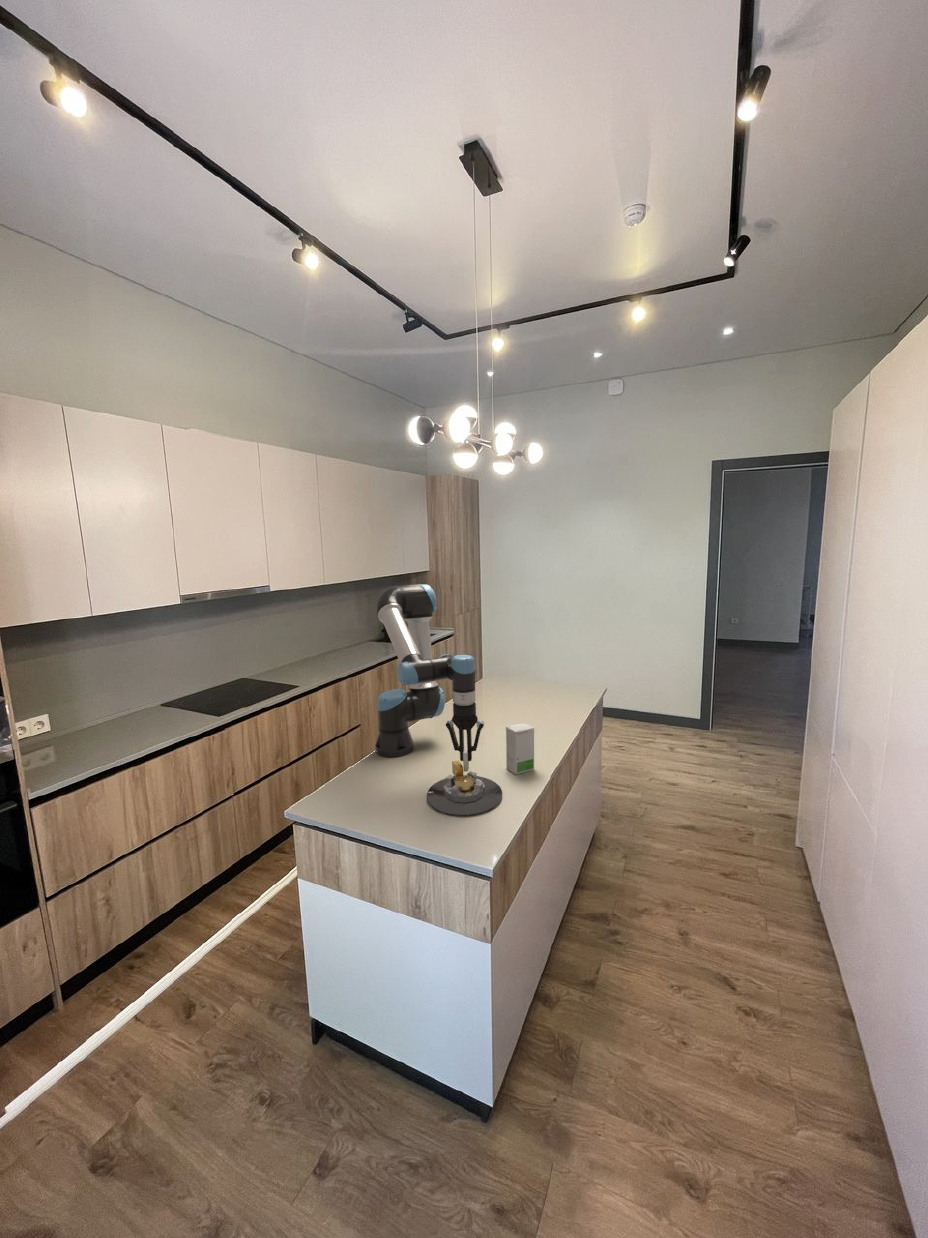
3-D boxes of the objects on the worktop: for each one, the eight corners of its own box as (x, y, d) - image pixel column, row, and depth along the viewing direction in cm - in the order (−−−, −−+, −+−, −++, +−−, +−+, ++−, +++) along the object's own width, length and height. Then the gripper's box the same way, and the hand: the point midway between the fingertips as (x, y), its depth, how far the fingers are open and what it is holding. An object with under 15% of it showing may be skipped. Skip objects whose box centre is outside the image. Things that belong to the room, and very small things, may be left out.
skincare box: (515, 775, 166) (514, 732, 164) (505, 768, 172) (504, 726, 169) (535, 769, 170) (535, 727, 167) (524, 762, 176) (524, 721, 173)
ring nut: (489, 798, 149) (489, 780, 148) (450, 805, 145) (449, 786, 144) (473, 774, 165) (473, 758, 164) (437, 780, 161) (437, 763, 160)
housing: (416, 812, 145) (415, 795, 144) (439, 775, 168) (438, 760, 167) (494, 820, 139) (494, 802, 138) (507, 781, 162) (507, 765, 161)
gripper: (442, 705, 155) (445, 774, 159) (483, 706, 153) (484, 775, 157) (446, 698, 162) (449, 764, 166) (485, 698, 161) (486, 765, 164)
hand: (466, 769), depth 161 cm, fingers closed
